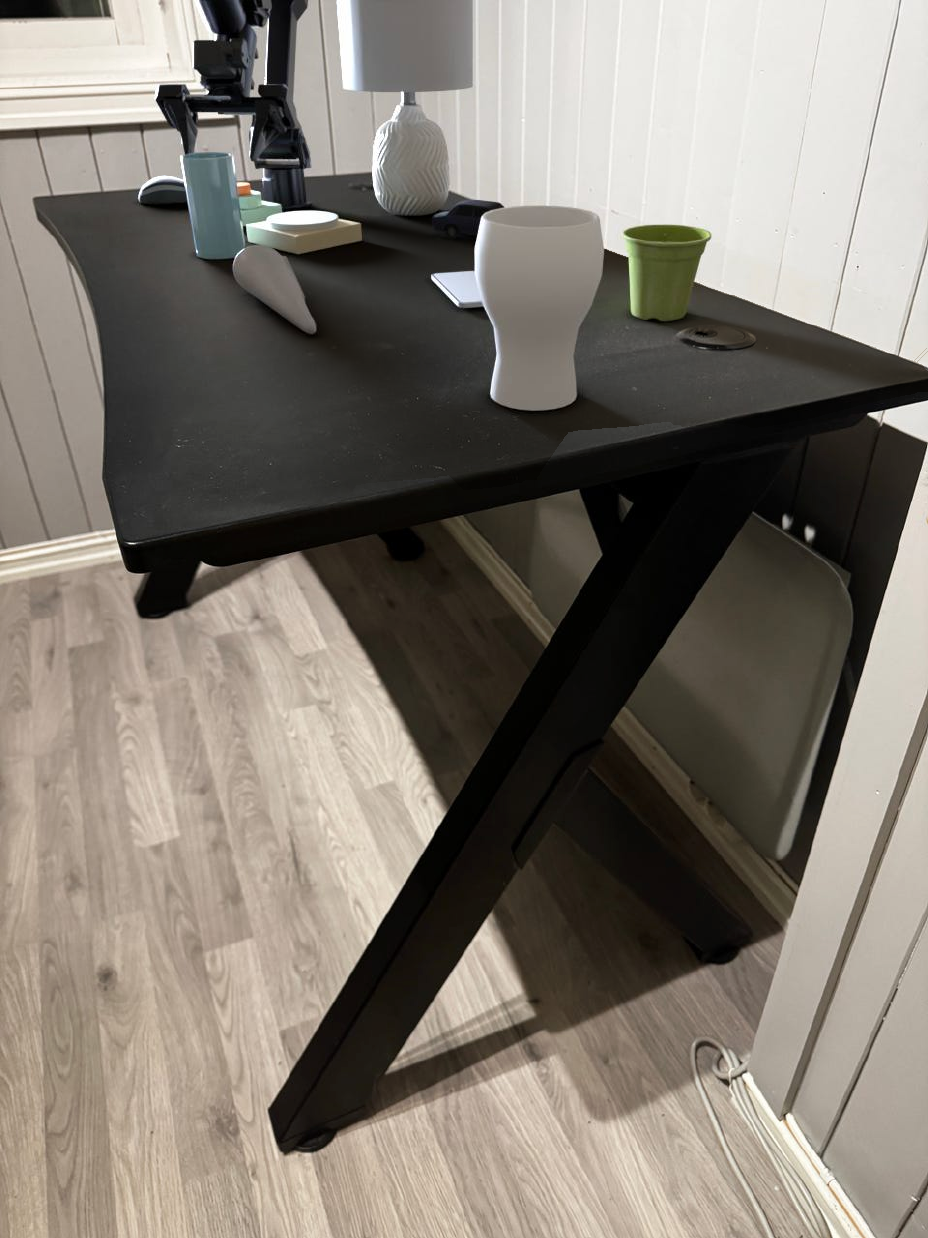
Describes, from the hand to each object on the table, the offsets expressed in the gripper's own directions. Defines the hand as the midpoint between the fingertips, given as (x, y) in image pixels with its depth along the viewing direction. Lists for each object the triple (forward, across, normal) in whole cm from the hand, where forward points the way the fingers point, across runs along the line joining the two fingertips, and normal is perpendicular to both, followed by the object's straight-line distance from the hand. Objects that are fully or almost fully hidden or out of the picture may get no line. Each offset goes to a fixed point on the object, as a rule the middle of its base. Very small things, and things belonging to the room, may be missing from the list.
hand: (219, 158), depth 126 cm
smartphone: (+24, +38, -8) cm, 45 cm away
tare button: (-8, -4, +19) cm, 20 cm away
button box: (-5, -4, +21) cm, 22 cm away
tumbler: (+12, 0, +5) cm, 12 cm away
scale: (+5, +10, +11) cm, 16 cm away
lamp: (-11, +23, +27) cm, 37 cm away
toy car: (+2, +36, +14) cm, 39 cm away
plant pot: (+30, +59, -13) cm, 68 cm away
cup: (+49, +46, -32) cm, 74 cm away
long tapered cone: (+32, +16, -16) cm, 39 cm away
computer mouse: (-16, -22, +33) cm, 43 cm away
